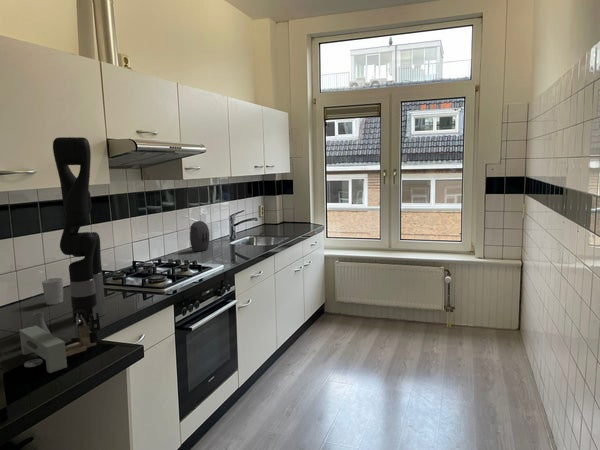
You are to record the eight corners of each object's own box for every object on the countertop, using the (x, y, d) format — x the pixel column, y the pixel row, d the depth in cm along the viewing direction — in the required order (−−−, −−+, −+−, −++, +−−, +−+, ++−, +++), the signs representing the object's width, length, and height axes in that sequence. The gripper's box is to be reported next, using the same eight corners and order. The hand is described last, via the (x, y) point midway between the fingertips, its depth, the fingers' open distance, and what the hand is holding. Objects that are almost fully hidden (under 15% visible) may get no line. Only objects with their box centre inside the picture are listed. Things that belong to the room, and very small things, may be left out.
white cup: (54, 306, 198) (51, 283, 196) (40, 304, 200) (37, 282, 199) (68, 300, 205) (66, 278, 203) (55, 299, 207) (52, 277, 206)
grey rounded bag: (204, 248, 314) (202, 218, 311) (213, 249, 310) (212, 219, 307) (188, 252, 301) (186, 222, 298) (198, 253, 297) (196, 222, 294)
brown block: (51, 353, 149) (49, 333, 148) (90, 341, 158) (88, 321, 157) (59, 358, 145) (57, 337, 144) (98, 345, 154) (96, 325, 153)
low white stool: (19, 354, 149) (16, 330, 148) (38, 348, 153) (36, 325, 152) (46, 374, 135) (43, 348, 134) (67, 367, 139) (64, 341, 138)
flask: (56, 336, 163) (54, 309, 162) (46, 345, 156) (43, 316, 155) (36, 337, 163) (32, 310, 162) (24, 346, 156) (21, 317, 154)
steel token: (21, 365, 142) (21, 362, 142) (39, 359, 146) (38, 357, 146) (27, 369, 139) (27, 367, 139) (45, 364, 142) (45, 361, 142)
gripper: (104, 293, 150) (109, 341, 153) (84, 286, 160) (89, 331, 162) (81, 299, 145) (86, 348, 147) (62, 291, 154) (67, 338, 156)
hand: (87, 339), depth 155 cm, fingers open, 8 cm apart
